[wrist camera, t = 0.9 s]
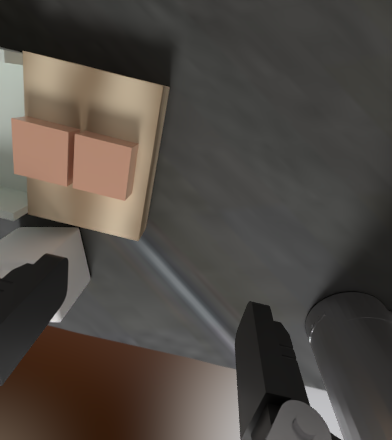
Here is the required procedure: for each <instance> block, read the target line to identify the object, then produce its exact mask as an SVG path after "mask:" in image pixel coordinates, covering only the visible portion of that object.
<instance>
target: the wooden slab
mask: <svg viewBox="0 0 392 440" xmlns="http://www.w3.org/2000/svg"><path fill="white" fill-rule="evenodd" d="M23 80H24V110H25V116H29V117H33V118H37V119H41V120H45V121H49V122H53V123H57V124H61V125H65V126H69V127H73V128H77V129H80V132H83V131H89V132H93V133H97V134H102V135H106V136H110V137H114V138H118V139H122V140H126V141H130V142H134V143H138V144H139V146H138V154H137V161H136V168H135V175H134V183H133V190H132V194H131V195H130V196H129V197H128V198H127V199H126V200H125V201H123V200H119V199H115V198H111V197H107V196H103V195H99V194H95V193H91V192H87V191H82V190H78V189H74V188H73V183H72V184H70V185H69V186H67V187H66V186H62V185H58V184H54V183H50V182H46V181H42V180H38V179H33V178H29V177H27V200H28V214H29V215H33V216H37V217H41V218H45V219H49V220H53V221H58V222H62V223H66V224H70V225H74V226H78V227H82V228H86V229H91V230H95V231H99V232H103V233H107V234H111V235H115V236H119V237H123V238H128V239H132V240H136V241H139V239H140V237H141V236H142V234H143V232H144V230H145V229H146V225H147V219H148V213H149V207H150V201H151V196H152V190H153V184H154V178H155V172H156V166H157V160H158V154H159V148H160V142H161V136H162V131H163V125H164V119H165V113H166V107H167V101H168V95H169V89H170V87H168V86H164V85H160V84H156V83H152V82H148V81H144V80H140V79H136V78H132V77H128V76H124V75H120V74H116V73H112V72H108V71H104V70H100V69H96V68H92V67H88V66H84V65H81V64H77V63H73V62H69V61H65V60H61V59H57V58H53V57H49V56H45V55H40V54H36V53H31V52H26V51H23Z"/></svg>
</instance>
